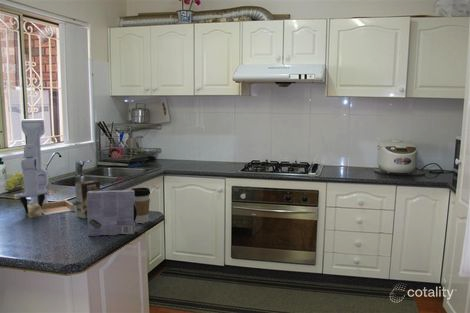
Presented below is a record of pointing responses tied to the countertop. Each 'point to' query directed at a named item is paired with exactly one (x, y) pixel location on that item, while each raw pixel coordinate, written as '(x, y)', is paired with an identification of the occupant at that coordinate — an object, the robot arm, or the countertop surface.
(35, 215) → the maple block
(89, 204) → the cake pan box
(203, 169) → the countertop surface
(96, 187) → the coffee box
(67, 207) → the arena
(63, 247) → the countertop surface
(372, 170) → the countertop surface
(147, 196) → the coffee cup
